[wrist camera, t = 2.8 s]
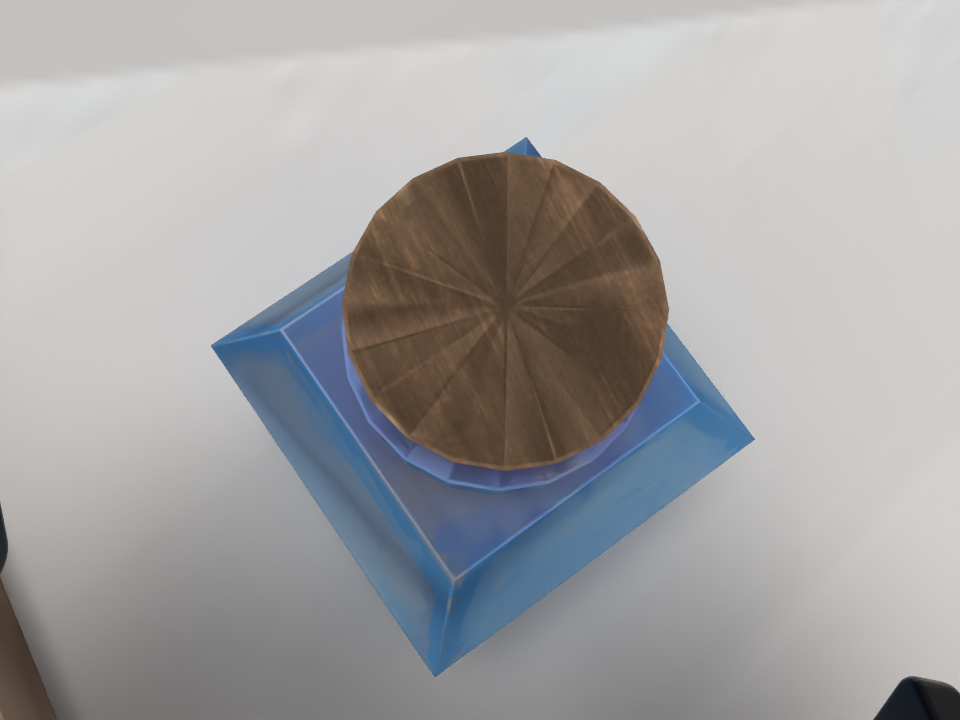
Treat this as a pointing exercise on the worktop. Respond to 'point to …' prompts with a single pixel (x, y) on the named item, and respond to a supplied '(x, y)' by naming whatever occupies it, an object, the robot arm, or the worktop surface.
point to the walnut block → (19, 672)
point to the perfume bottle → (484, 392)
